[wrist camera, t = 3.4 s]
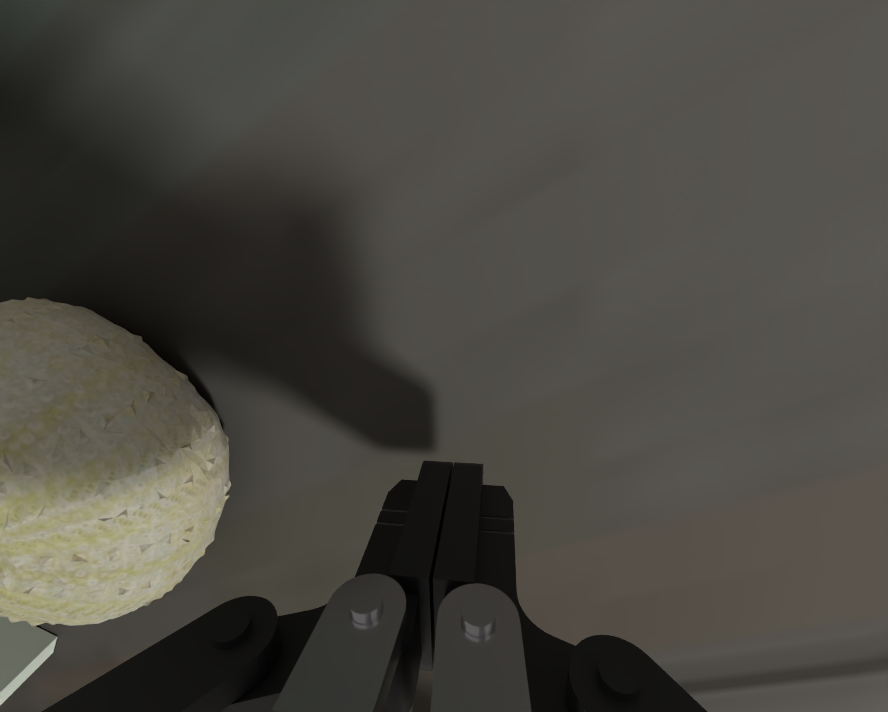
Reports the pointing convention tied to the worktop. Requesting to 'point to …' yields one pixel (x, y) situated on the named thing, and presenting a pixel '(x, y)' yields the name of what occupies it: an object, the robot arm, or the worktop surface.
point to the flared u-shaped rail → (21, 653)
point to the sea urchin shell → (98, 468)
